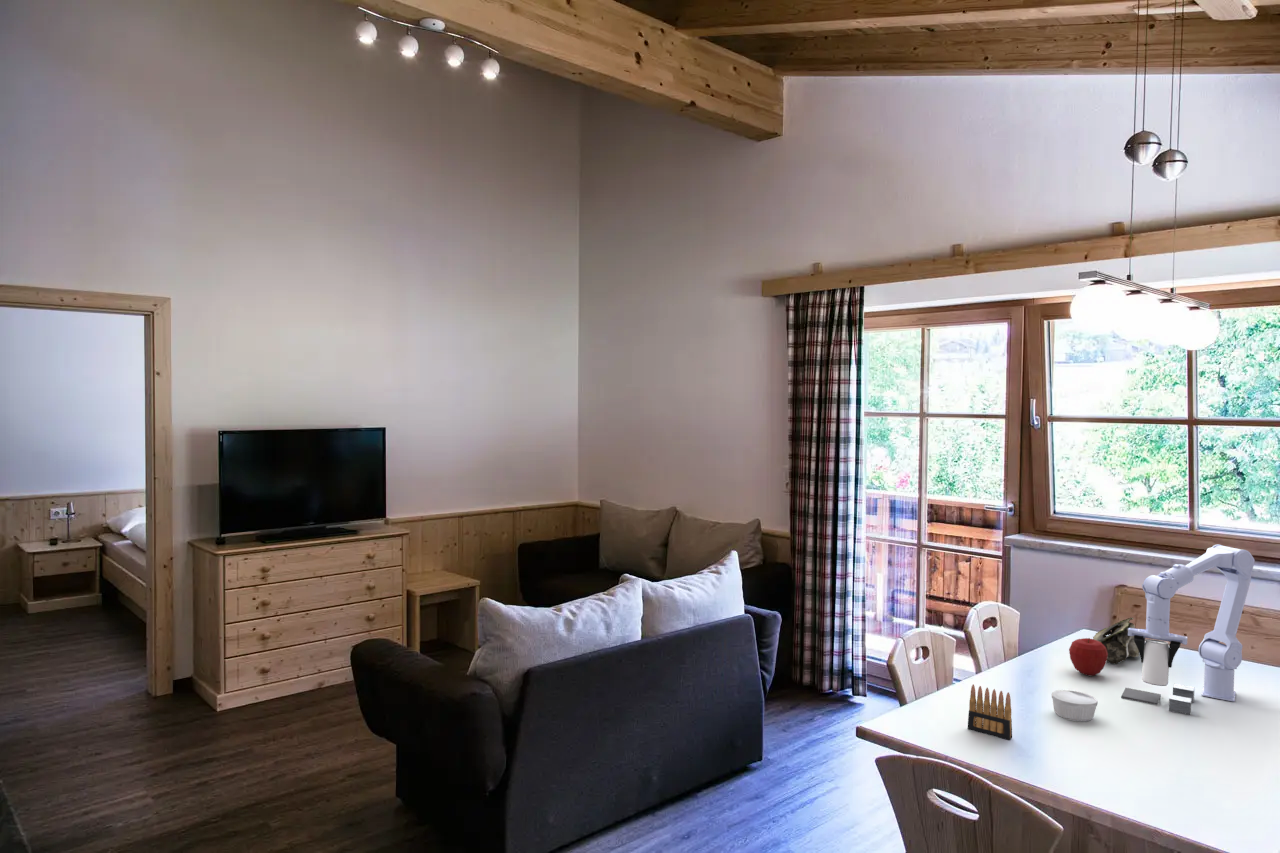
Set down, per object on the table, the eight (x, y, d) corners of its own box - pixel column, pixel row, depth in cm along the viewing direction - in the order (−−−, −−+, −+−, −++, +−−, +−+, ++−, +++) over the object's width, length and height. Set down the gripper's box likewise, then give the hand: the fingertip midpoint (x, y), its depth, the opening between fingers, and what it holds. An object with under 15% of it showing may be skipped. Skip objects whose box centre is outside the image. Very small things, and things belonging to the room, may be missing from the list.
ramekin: (1102, 715, 229) (1102, 696, 229) (1090, 727, 221) (1091, 707, 221) (1058, 705, 237) (1058, 686, 237) (1045, 715, 229) (1046, 696, 229)
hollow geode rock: (1108, 681, 271) (1145, 656, 263) (1077, 649, 277) (1113, 623, 269) (1128, 659, 292) (1164, 635, 284) (1100, 629, 297) (1133, 604, 290)
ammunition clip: (1012, 738, 213) (1013, 692, 213) (1010, 740, 212) (1011, 694, 211) (969, 727, 220) (970, 682, 220) (967, 729, 219) (968, 684, 218)
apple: (1071, 666, 271) (1072, 630, 271) (1109, 673, 265) (1110, 636, 265) (1065, 675, 262) (1066, 638, 262) (1104, 682, 256) (1105, 644, 256)
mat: (1125, 689, 250) (1125, 687, 250) (1160, 696, 245) (1160, 694, 245) (1121, 697, 243) (1121, 695, 243) (1157, 705, 237) (1157, 702, 237)
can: (1171, 687, 237) (1174, 645, 237) (1146, 684, 238) (1149, 642, 239) (1162, 681, 243) (1164, 640, 244) (1138, 679, 245) (1140, 637, 245)
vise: (1174, 693, 247) (1174, 682, 247) (1194, 697, 244) (1195, 685, 244) (1168, 710, 233) (1169, 698, 233) (1190, 715, 230) (1190, 702, 230)
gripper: (1127, 616, 242) (1125, 662, 242) (1186, 625, 233) (1185, 673, 234) (1130, 611, 247) (1128, 656, 248) (1188, 619, 239) (1186, 666, 239)
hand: (1156, 664), depth 241 cm, fingers closed on can, 6 cm apart
